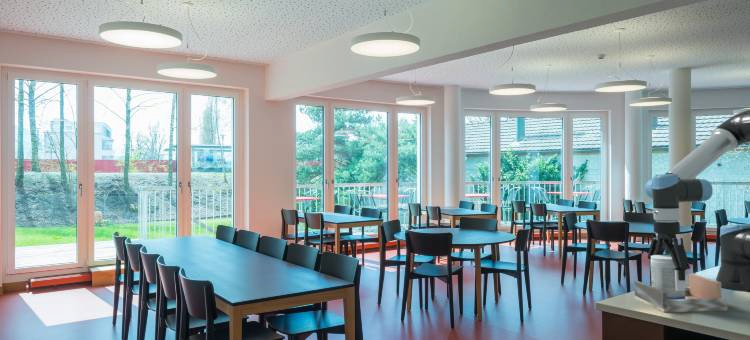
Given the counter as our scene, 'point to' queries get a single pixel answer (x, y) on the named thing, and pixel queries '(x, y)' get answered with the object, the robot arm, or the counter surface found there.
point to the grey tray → (683, 305)
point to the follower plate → (704, 287)
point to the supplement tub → (665, 276)
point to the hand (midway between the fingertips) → (668, 285)
